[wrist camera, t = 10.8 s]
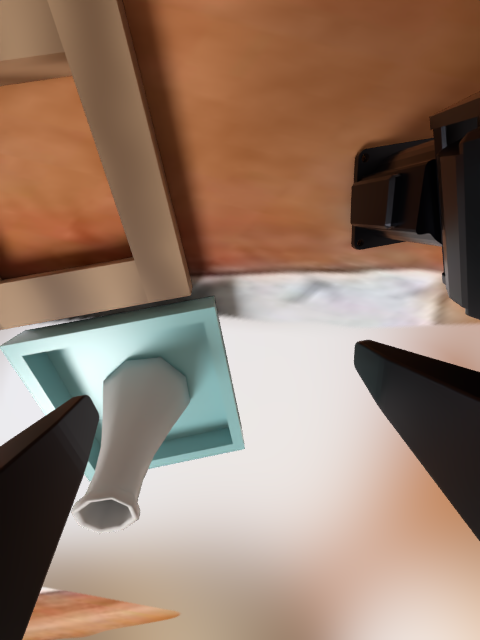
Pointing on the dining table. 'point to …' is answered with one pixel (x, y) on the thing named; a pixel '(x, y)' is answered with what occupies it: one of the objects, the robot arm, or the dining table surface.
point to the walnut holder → (115, 153)
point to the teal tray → (133, 344)
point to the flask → (130, 439)
